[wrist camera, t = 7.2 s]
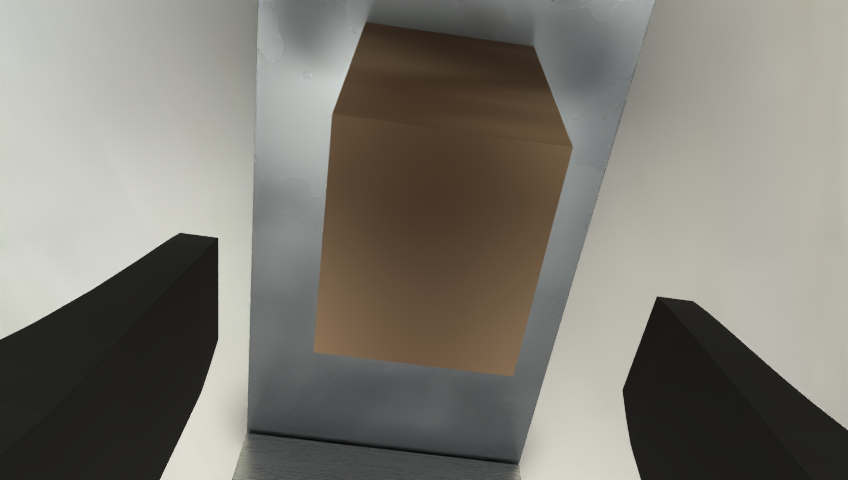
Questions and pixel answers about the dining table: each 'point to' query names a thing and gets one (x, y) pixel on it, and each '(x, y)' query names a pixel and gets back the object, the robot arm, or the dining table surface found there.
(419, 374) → the vise
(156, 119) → the dining table surface
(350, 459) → the slide jaw
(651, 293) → the dining table surface
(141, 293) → the robot arm
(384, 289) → the block
